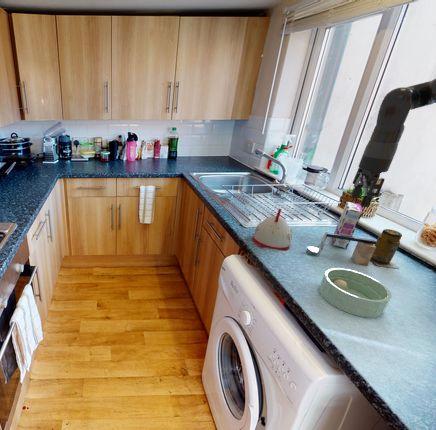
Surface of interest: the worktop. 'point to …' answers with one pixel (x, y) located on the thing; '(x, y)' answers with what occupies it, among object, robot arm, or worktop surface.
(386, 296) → the bowl
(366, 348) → the worktop surface
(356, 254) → the brown wooden block
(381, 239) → the condiment
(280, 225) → the cream dome hat
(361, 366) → the worktop surface
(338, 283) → the dumpling
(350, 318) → the worktop surface
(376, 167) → the robot arm
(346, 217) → the candy bar box
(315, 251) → the ladle
